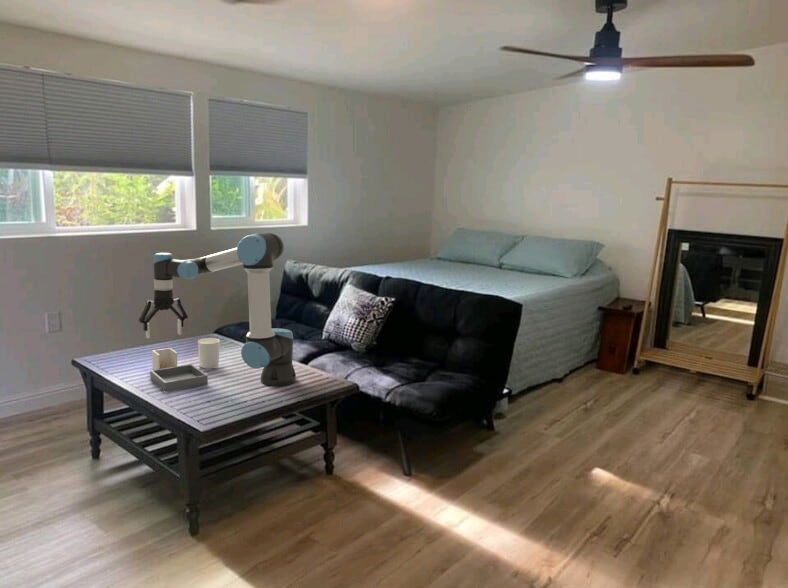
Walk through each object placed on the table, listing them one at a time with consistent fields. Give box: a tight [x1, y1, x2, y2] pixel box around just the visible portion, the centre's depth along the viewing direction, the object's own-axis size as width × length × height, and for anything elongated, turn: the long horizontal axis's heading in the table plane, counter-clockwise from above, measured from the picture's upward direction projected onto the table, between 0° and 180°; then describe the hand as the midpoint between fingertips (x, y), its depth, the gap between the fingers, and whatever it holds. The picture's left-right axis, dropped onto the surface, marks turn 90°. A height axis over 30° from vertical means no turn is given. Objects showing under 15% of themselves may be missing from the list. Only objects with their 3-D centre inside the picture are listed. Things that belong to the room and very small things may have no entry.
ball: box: [160, 362, 167, 369], centre depth 250 cm, size 3×3×3 cm
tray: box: [149, 363, 209, 393], centre depth 236 cm, size 18×18×4 cm
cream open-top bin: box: [151, 347, 178, 370], centre depth 248 cm, size 8×8×9 cm
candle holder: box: [197, 337, 221, 369], centre depth 258 cm, size 10×10×12 cm
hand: (163, 336), depth 246 cm, fingers open, 13 cm apart
